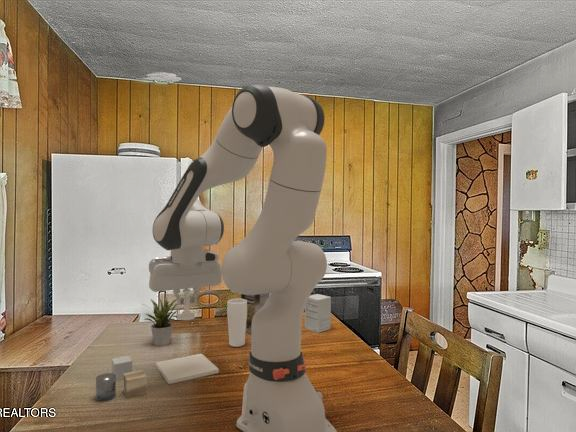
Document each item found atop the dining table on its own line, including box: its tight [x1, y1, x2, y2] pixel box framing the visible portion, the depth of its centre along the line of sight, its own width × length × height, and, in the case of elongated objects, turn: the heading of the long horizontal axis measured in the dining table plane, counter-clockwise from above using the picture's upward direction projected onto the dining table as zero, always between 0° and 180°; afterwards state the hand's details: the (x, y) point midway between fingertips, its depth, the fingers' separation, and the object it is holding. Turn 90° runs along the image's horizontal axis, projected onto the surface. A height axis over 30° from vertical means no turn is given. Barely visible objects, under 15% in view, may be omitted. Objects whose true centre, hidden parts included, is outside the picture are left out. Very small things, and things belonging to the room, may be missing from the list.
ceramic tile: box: [155, 353, 220, 385], centre depth 113 cm, size 14×14×1 cm
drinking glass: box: [226, 298, 247, 348], centre depth 134 cm, size 7×7×15 cm
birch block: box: [123, 369, 147, 399], centre depth 99 cm, size 4×4×4 cm
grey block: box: [111, 355, 133, 381], centre depth 109 cm, size 4×4×4 cm
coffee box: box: [240, 293, 270, 334], centre depth 149 cm, size 9×6×16 cm
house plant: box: [142, 296, 183, 347], centre depth 135 cm, size 14×14×16 cm
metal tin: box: [95, 372, 117, 403], centre depth 96 cm, size 4×4×5 cm
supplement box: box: [304, 293, 332, 334], centre depth 152 cm, size 7×7×13 cm
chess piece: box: [177, 288, 196, 321], centre depth 113 cm, size 5×5×10 cm
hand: (186, 303), depth 113 cm, fingers closed on chess piece, 2 cm apart
